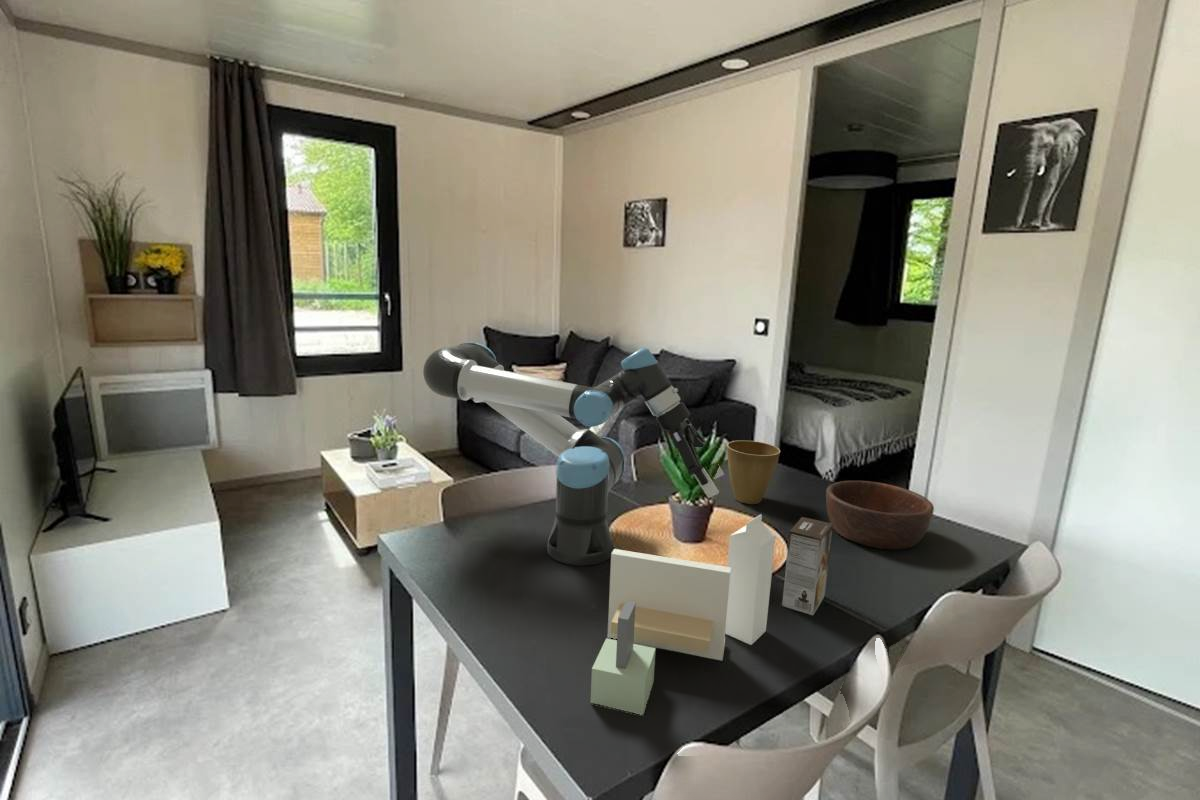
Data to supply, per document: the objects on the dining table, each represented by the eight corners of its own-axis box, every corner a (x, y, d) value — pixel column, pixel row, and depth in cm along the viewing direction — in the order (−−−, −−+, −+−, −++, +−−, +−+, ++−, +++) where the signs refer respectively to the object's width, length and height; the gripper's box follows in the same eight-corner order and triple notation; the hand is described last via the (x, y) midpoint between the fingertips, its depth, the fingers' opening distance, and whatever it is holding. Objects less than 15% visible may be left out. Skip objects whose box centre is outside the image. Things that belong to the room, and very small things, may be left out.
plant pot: (727, 508, 170) (731, 453, 166) (719, 489, 184) (723, 439, 181) (780, 510, 169) (786, 455, 166) (768, 492, 184) (773, 441, 181)
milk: (765, 631, 111) (778, 518, 106) (751, 646, 106) (763, 528, 102) (735, 618, 114) (746, 508, 110) (720, 632, 110) (731, 518, 105)
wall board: (598, 657, 101) (601, 569, 98) (613, 624, 111) (617, 542, 108) (719, 683, 96) (727, 590, 93) (724, 645, 106) (731, 560, 103)
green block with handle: (590, 704, 90) (593, 619, 87) (604, 671, 98) (608, 592, 95) (643, 716, 88) (648, 629, 85) (653, 682, 96) (658, 601, 93)
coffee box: (793, 587, 127) (801, 515, 124) (825, 596, 124) (834, 523, 120) (780, 606, 119) (789, 530, 116) (814, 616, 116) (823, 538, 113)
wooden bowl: (832, 549, 146) (837, 509, 144) (815, 511, 170) (819, 476, 168) (943, 561, 142) (950, 520, 140) (909, 520, 166) (915, 484, 164)
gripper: (673, 411, 129) (726, 496, 129) (689, 391, 152) (734, 462, 152) (644, 429, 131) (696, 511, 131) (664, 406, 155) (708, 476, 155)
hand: (716, 485), depth 142 cm, fingers open, 13 cm apart
